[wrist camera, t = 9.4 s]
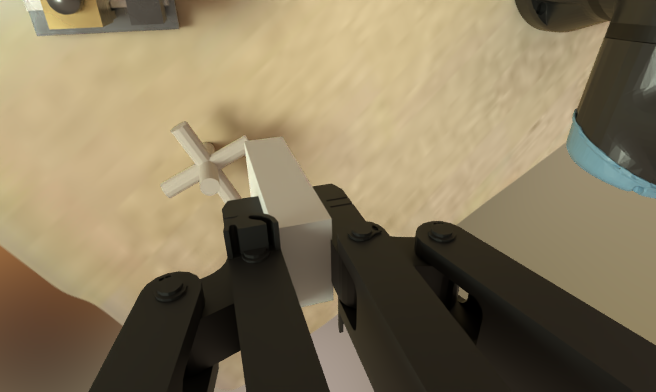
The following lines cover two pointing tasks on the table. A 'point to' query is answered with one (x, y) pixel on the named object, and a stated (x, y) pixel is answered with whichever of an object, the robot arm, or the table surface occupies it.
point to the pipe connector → (204, 165)
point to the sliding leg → (77, 13)
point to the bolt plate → (131, 15)
